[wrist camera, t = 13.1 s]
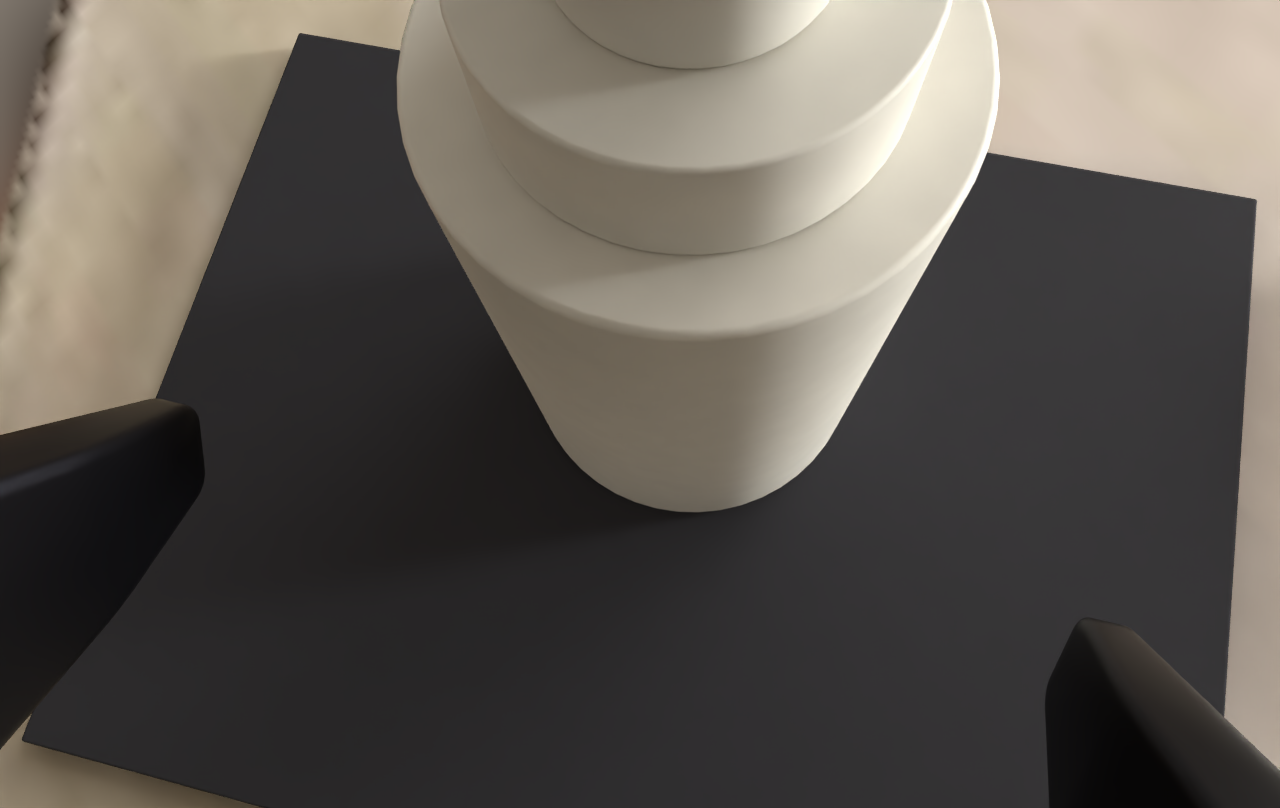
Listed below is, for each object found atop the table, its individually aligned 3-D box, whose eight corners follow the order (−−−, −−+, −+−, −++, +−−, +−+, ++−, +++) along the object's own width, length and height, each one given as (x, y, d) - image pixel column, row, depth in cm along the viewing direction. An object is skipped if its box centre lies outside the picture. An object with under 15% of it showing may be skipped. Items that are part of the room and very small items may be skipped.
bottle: (818, 547, 17) (1135, 205, 5) (498, 472, 18) (82, 13, 6) (875, 247, 18) (1219, -567, 6) (579, 190, 19) (394, -641, 7)
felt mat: (1190, 1057, 15) (1203, 1067, 14) (35, 740, 17) (19, 740, 17) (1246, 208, 19) (1257, 198, 18) (305, 43, 21) (298, 32, 21)
